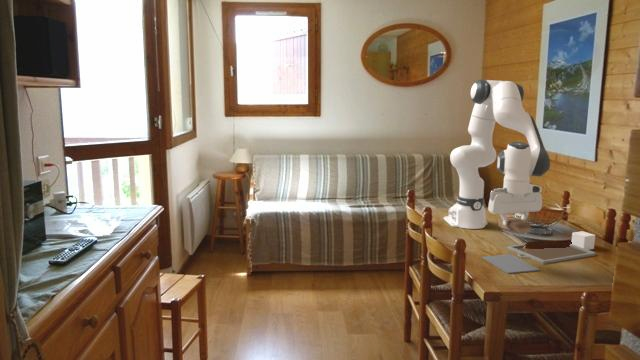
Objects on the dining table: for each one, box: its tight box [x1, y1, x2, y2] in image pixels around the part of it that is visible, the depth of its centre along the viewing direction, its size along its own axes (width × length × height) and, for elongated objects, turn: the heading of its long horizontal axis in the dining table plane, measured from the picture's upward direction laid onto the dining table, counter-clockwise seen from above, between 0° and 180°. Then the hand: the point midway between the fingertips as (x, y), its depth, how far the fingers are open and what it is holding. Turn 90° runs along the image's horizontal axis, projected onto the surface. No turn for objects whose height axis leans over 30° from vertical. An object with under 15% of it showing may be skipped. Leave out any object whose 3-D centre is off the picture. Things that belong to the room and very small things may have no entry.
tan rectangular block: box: [497, 214, 532, 235], centre depth 178 cm, size 11×5×4 cm, turn 21°
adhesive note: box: [570, 230, 596, 251], centre depth 200 cm, size 6×6×6 cm
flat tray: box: [506, 243, 597, 265], centre depth 195 cm, size 19×2×30 cm
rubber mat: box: [481, 253, 541, 275], centre depth 181 cm, size 17×13×1 cm
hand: (513, 224), depth 178 cm, fingers closed on tan rectangular block, 5 cm apart
